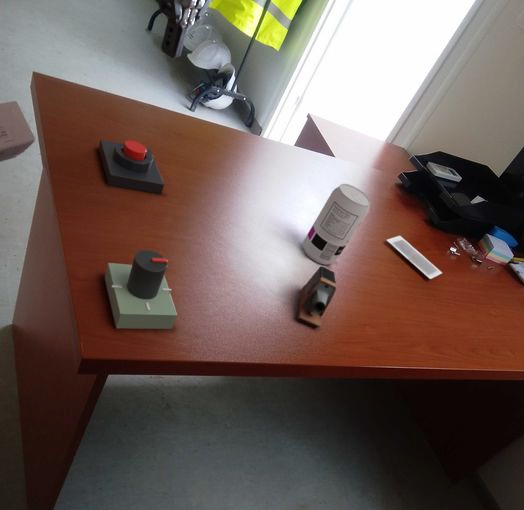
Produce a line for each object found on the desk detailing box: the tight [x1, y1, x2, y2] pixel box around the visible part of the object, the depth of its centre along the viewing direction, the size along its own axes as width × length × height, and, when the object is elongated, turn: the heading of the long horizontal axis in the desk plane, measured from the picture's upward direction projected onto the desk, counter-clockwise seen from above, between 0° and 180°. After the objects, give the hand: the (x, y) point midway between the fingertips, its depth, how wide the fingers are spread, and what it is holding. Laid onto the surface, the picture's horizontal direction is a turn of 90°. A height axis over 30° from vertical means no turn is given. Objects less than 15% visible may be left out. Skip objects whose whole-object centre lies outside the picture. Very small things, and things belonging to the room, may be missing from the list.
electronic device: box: [296, 265, 337, 329], centre depth 81 cm, size 4×10×8 cm, turn 174°
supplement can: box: [302, 183, 372, 266], centre depth 94 cm, size 8×8×15 cm
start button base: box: [98, 138, 165, 195], centre depth 88 cm, size 12×10×4 cm
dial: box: [127, 249, 168, 299], centre depth 63 cm, size 4×4×6 cm
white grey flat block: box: [386, 235, 443, 280], centre depth 116 cm, size 8×15×2 cm, turn 46°
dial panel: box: [104, 262, 178, 330], centre depth 66 cm, size 10×9×3 cm
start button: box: [123, 139, 147, 160], centre depth 86 cm, size 4×4×2 cm
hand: (170, 54), depth 61 cm, fingers closed
